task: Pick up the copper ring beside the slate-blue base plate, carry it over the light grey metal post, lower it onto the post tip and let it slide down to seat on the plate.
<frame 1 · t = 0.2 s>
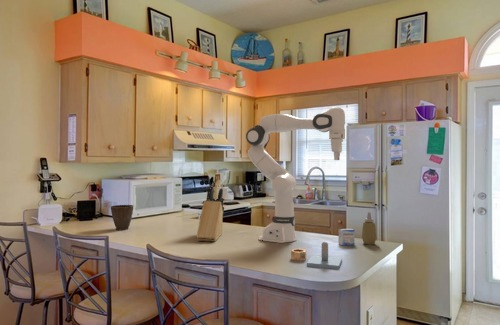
hand: (336, 160, 212), 48 cm above the counter, fingers open, 8 cm apart
knife block: (211, 236, 231), on the counter
copper ring: (298, 258, 179), on the counter
medicine box: (346, 244, 210), on the counter
squeeze bottle: (369, 244, 212), on the counter
post base: (324, 263, 171), on the counter
plant pot: (122, 229, 255), on the counter
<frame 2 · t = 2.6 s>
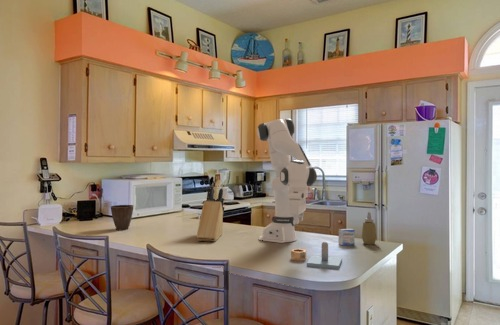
hand: (298, 222, 179), 18 cm above the counter, fingers open, 8 cm apart
nothing on the counter moved.
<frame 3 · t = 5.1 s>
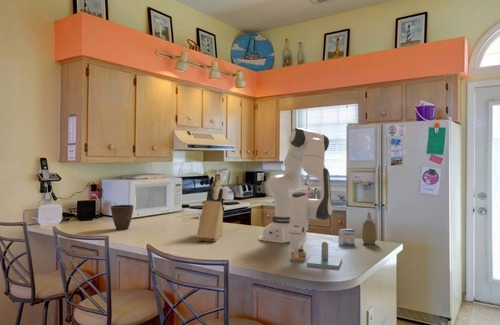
hand: (298, 255, 179), 2 cm above the counter, fingers closed on copper ring, 7 cm apart
copper ring: (298, 258, 179), on the counter, touching gripper
everything else where it was.
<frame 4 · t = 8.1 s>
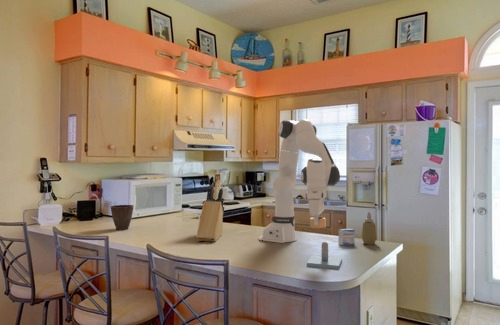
hand: (317, 223, 173), 18 cm above the counter, fingers closed on copper ring, 7 cm apart
copper ring: (317, 226, 173), point 17 cm above the counter, touching gripper
everything else where it was.
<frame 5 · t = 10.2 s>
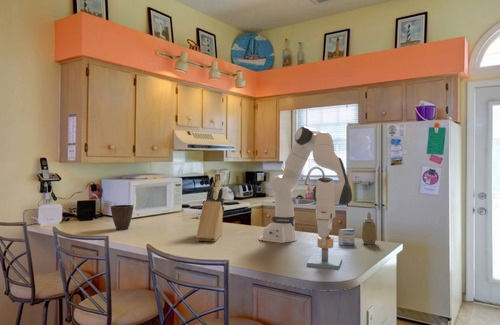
hand: (325, 243, 171), 9 cm above the counter, fingers closed on copper ring, 7 cm apart
copper ring: (325, 246, 171), point 8 cm above the counter, touching gripper
everything else where it was.
when the fingers open (8 cm above the counter, at t = 11.6 s): copper ring drops 5 cm, resting on post base.
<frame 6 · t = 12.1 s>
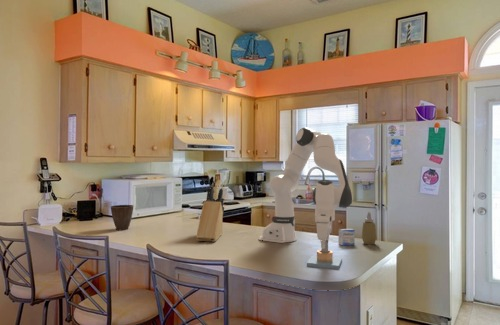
hand: (324, 245, 171), 8 cm above the counter, fingers open, 8 cm apart
copper ring: (324, 260, 171), point 1 cm above the counter, touching post base
everything else where it was.
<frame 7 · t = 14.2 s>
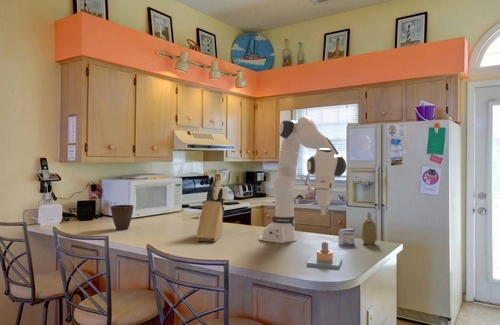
hand: (324, 213, 171), 23 cm above the counter, fingers open, 8 cm apart
nothing on the counter moved.
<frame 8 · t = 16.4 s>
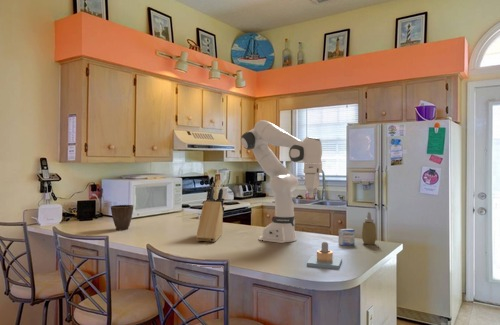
hand: (312, 196, 187), 29 cm above the counter, fingers open, 8 cm apart
at the end: copper ring 0.1 cm off-centre on the post base, point 1.5 cm above the post base's base; the gripper is holding nothing; copper ring tilted 0° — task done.
